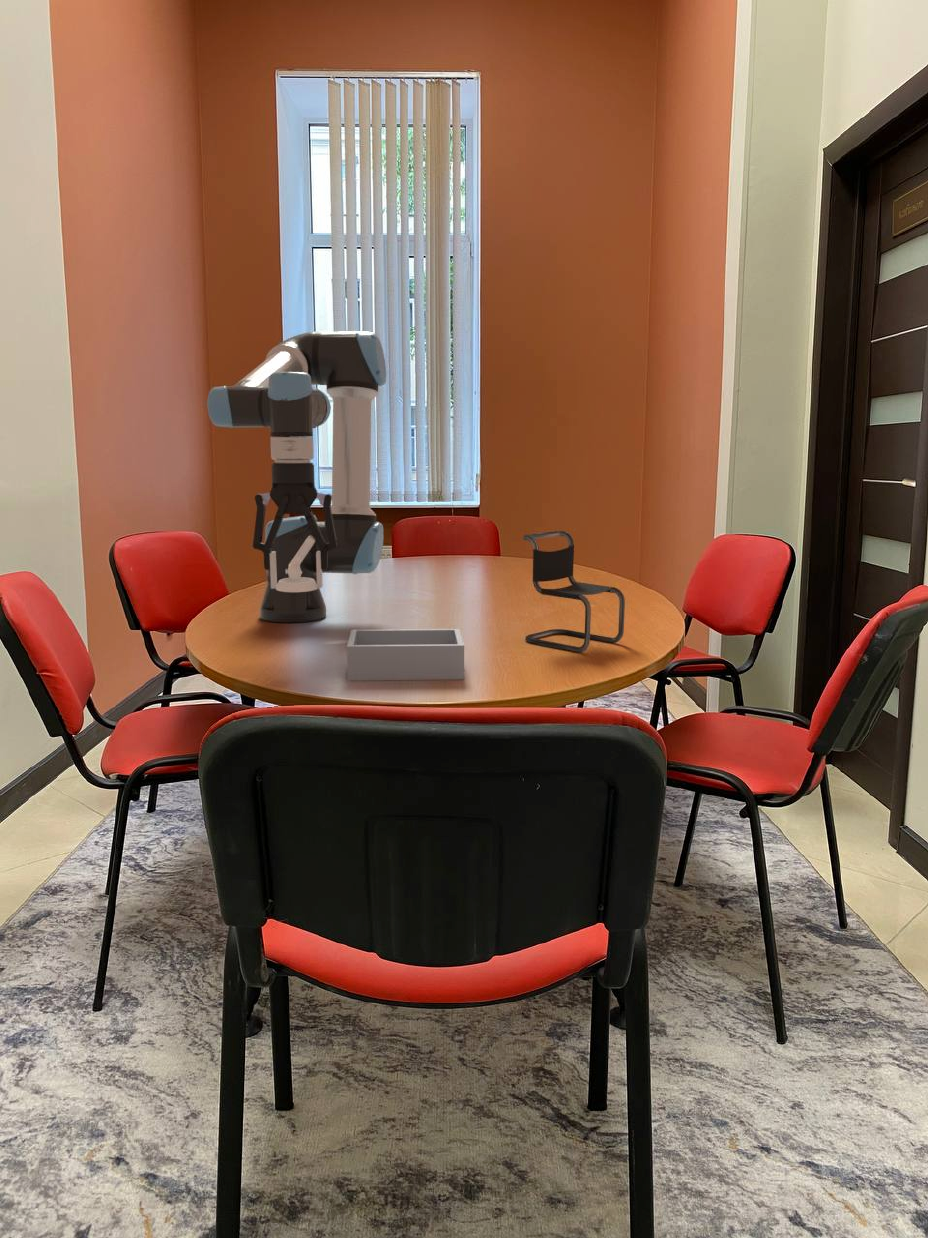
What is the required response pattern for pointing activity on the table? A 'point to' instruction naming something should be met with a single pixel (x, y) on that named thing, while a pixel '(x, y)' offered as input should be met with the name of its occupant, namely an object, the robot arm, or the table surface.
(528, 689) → the table surface
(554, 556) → the chair
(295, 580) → the white ring with handle
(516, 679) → the table surface
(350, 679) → the well
